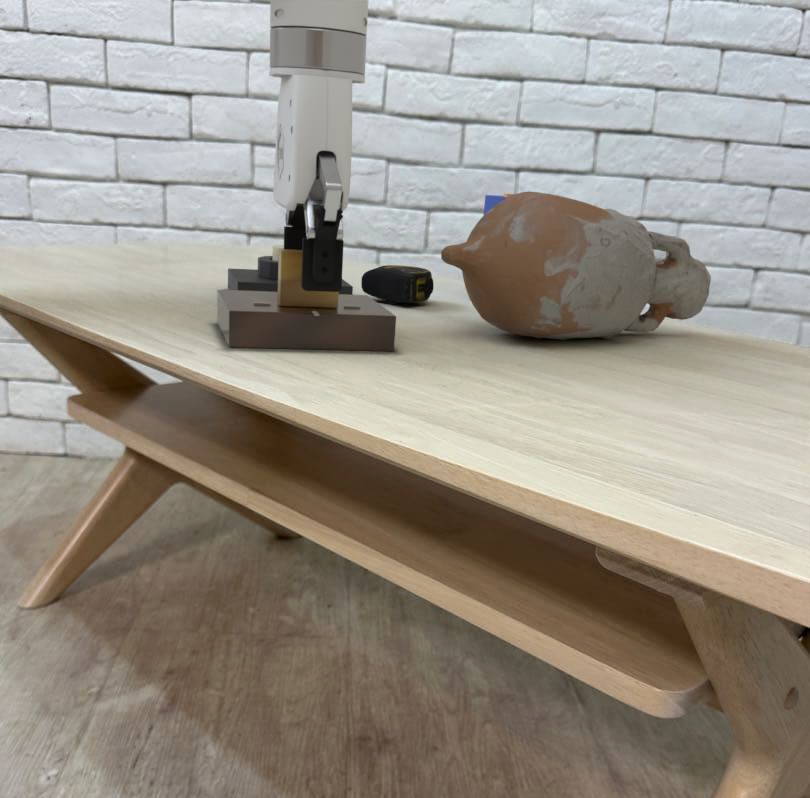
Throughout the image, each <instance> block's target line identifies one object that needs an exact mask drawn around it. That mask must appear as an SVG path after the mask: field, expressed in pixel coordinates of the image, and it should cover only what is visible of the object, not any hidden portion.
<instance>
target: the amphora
mask: <svg viewBox="0 0 810 798" xmlns="http://www.w3.org/2000/svg"><path fill="white" fill-rule="evenodd" d="M513 194H514V195H511V196H509V197H507V198H506V199H504V200H502V201H501V202H499V203H498V204H496V205H495V206H493V207H492V208H491V209H490V210H489V211H488V212H487V213H486V214H485V215H484V214H483V215H484V216H483V215H482V217H480V219H479V220H478V221H477V222H476V223H475V225H474V227H473V228H472V230H471V231H470V233H469V235H468V237H467V240H466V241H465V242H461V243H457V244H452V245H451V244H450V245H447V246H445V247H444V248H443V249H441V252H440V259H441V260H442V262H444V263H445V264H447V265H448V266H449V265H450V266H452V267H455V268H458V269H460V270H461V273H462V279H463V283H464V287H465V291H466V293H467V296H468V299H469V300H470V302H471V304H472V306H473V307H474V309H475V311H476V312H477V313H478V315H479V316H480V317H481V318H482V319H483V320H484V321H485V322H487V323H488V324H489V325H491V326H492V327H495V328H497V329H498V330H501V331H503V332H506V333H509V334H512V335H517V336H524V337H532V338H536V339H542V338H544V339H545V338H546V339H550V340H551V339H552V340H560V341H566V340H569V339H592V338H603V339H608V338H612V337H614V336H616V335H617V334H619V333H622V332H632V333H640V334H641V333H643V334H647V333H649V332H654V331H656V330H657V329H658V328H659V327H660V325H661V324H662V323H663V321H664V320H665V318H668V319H672V320H680V321H681V320H683V321H684V320H689V319H692V318H694V317H695V316H697V315H698V314H699V313H701V312H702V310H703V308H704V306H705V304H706V303H707V300H708V298H709V294H710V285H711V281H712V280H711V279H712V277H711V276H712V275H711V273H710V272H709V271H708V268H707V267H706V266H705V263H703V262H702V261H701V260H700V259H697V258H694V257H693V256H692V255H691V249H690V246H689V244H688V242H687V241H686V240H685V239H684V238H682V237H678V236H676V235H669V234H663V233H660V232H656V231H650V230H648V229H647V227H645V226H646V225H644V224H643V223H641V222H640V221H638V220H636V219H635V218H633V217H630V216H628V215H625V214H623V213H621V212H619V211H617V210H616V209H612V208H602V207H599V206H596V205H593V204H591V203H588V202H585V201H581V200H577V199H574V198H571V197H565V196H563V195H562V196H561V195H558V194H551V193H545V192H539V191H522V192H521V191H520V192H517V193H513ZM655 250H656V251H661V252H665V255H666V256H665V257H664V258H663V259H659V260H656V255H655ZM647 304H648V305H649V308H648V310H647V311H646V312H644V313H642V312H643V311H644V309H645V308H646V306H647Z"/></svg>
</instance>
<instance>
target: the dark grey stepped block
mask: <svg viewBox="0 0 810 798" xmlns="http://www.w3.org/2000/svg"><path fill="white" fill-rule="evenodd" d="M272 256H273V255H263V256H260V257H258V258H257V269H254V268H253V269H248V268H230V267H229V268H228V269H227V290H241V291H267V292H278V262H279V261H274V260H272ZM353 292H354V287H353V285H351V284H350V283H349V282H348V281H346V280H344V279H343V278H342V288H341V290H340V291H339V294H346V295H354V294H353Z"/></svg>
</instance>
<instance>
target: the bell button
mask: <svg viewBox="0 0 810 798" xmlns="http://www.w3.org/2000/svg"><path fill="white" fill-rule="evenodd" d="M279 249H284V244H274V245H272V255H271V256H272V260H274V261H279Z"/></svg>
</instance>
